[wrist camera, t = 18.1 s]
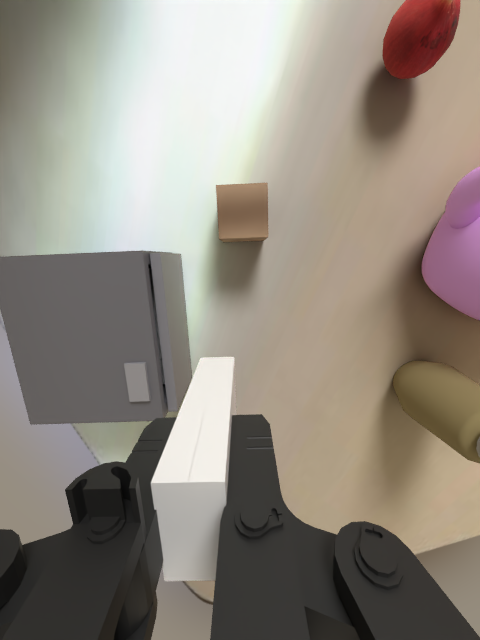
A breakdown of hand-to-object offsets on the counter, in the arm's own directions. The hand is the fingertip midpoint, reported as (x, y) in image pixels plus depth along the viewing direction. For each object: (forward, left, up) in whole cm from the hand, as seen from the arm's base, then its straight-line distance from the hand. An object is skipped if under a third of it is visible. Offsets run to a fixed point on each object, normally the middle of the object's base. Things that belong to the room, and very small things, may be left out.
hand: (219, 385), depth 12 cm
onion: (-25, +18, -23) cm, 39 cm away
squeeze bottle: (+12, +24, -23) cm, 36 cm away
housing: (+2, -15, -23) cm, 27 cm away
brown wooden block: (-10, +1, -23) cm, 25 cm away
